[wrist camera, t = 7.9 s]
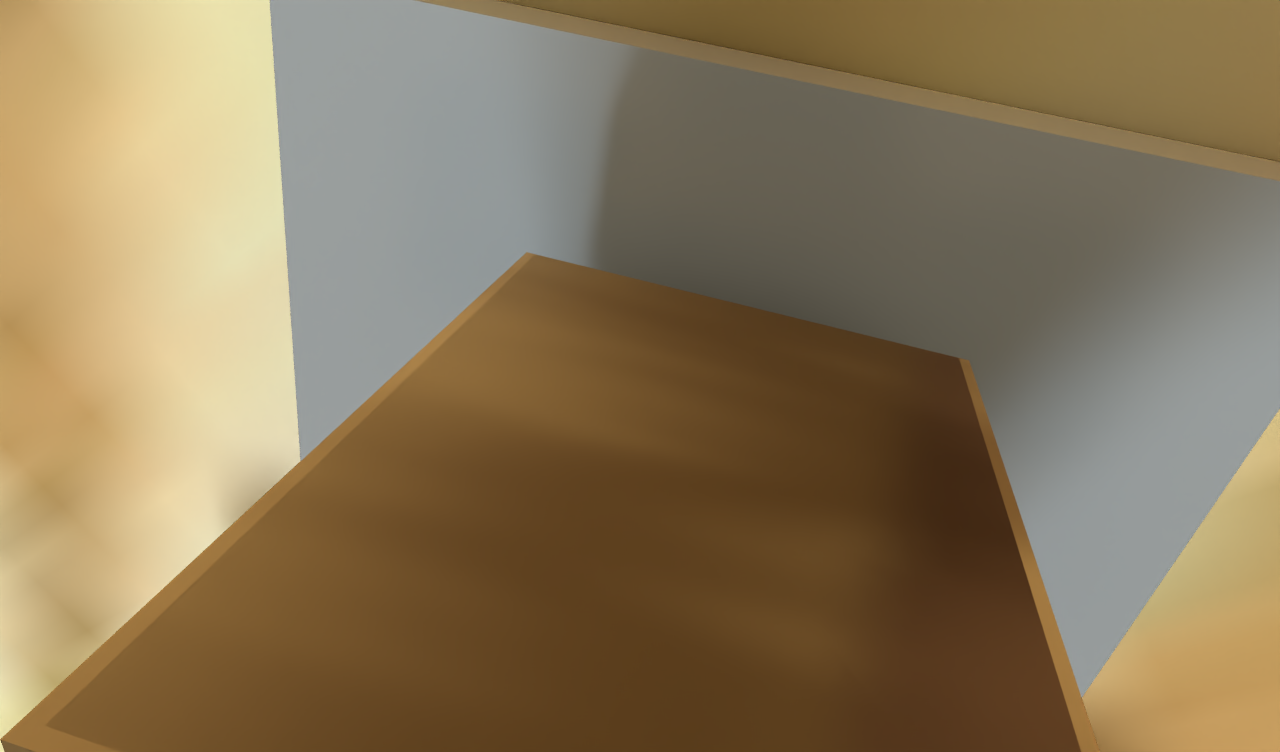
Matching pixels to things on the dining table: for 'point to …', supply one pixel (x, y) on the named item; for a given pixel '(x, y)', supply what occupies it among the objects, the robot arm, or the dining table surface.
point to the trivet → (799, 245)
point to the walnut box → (610, 556)
